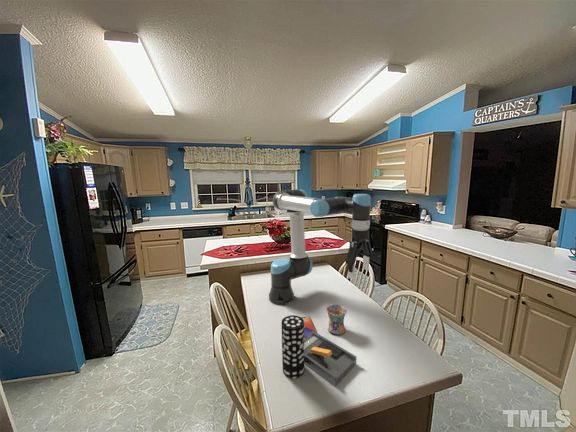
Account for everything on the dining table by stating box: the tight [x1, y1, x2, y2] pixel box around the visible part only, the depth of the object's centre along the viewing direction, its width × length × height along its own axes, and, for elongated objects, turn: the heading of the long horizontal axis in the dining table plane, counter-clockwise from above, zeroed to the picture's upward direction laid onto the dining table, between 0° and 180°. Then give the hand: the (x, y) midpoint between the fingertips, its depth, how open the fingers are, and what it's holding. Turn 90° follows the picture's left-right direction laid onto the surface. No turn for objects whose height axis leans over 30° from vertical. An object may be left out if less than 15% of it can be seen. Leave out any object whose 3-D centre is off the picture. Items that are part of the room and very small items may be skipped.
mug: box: [326, 303, 347, 335], centre depth 115 cm, size 12×9×11 cm
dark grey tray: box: [304, 331, 357, 387], centre depth 97 cm, size 22×14×4 cm, turn 44°
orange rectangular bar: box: [311, 347, 332, 357], centre depth 94 cm, size 9×2×1 cm, turn 43°
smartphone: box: [300, 316, 318, 339], centre depth 117 cm, size 7×15×1 cm, turn 10°
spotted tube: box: [281, 314, 305, 379], centre depth 90 cm, size 8×8×20 cm
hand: (358, 273), depth 111 cm, fingers open, 13 cm apart
